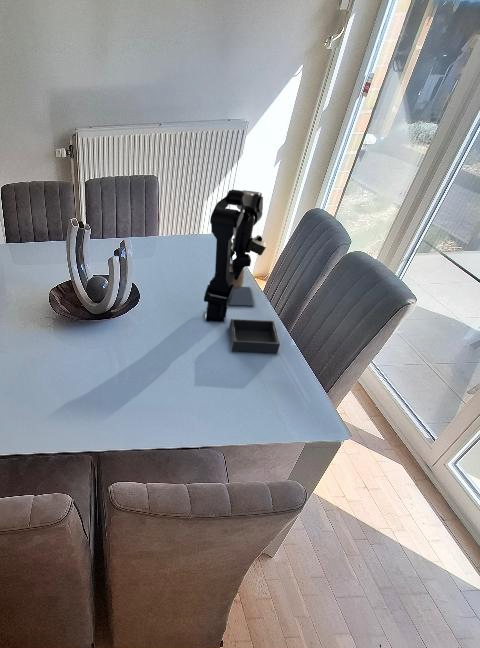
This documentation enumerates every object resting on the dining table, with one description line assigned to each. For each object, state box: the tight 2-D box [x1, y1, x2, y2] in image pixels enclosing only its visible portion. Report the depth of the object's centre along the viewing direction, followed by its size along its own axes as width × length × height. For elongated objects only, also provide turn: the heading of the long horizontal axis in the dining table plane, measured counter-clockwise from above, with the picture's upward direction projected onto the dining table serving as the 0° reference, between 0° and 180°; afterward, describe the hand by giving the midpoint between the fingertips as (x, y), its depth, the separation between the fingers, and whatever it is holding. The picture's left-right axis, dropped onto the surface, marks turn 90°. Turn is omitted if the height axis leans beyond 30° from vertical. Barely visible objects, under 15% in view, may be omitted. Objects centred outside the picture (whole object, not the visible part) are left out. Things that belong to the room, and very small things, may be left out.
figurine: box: [229, 259, 245, 290], centre depth 171 cm, size 7×7×12 cm
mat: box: [210, 286, 254, 307], centre depth 178 cm, size 15×15×1 cm
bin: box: [228, 318, 281, 355], centre depth 154 cm, size 15×15×4 cm
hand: (235, 275), depth 172 cm, fingers closed on figurine, 7 cm apart
